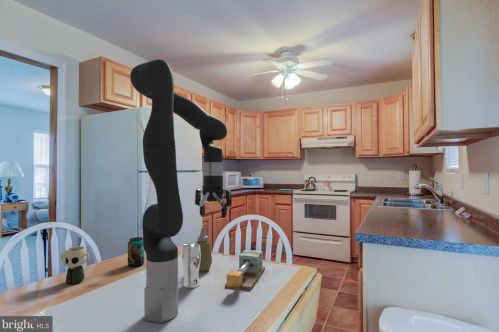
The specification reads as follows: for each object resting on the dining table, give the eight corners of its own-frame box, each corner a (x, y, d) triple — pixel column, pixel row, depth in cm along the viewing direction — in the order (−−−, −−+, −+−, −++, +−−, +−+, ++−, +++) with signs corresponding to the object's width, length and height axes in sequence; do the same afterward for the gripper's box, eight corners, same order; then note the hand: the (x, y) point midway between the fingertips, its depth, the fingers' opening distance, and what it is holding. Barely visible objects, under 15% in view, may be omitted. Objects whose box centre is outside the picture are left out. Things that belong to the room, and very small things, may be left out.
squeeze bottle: (210, 273, 120) (210, 230, 120) (191, 273, 120) (191, 230, 120) (213, 266, 128) (213, 226, 128) (195, 266, 128) (195, 226, 128)
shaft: (238, 287, 98) (238, 275, 98) (226, 285, 100) (226, 274, 100) (255, 266, 119) (255, 256, 119) (245, 265, 121) (245, 255, 121)
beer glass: (196, 289, 104) (196, 248, 104) (178, 288, 105) (178, 247, 105) (203, 282, 111) (203, 243, 111) (186, 280, 112) (186, 242, 112)
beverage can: (124, 266, 128) (124, 240, 128) (134, 261, 135) (134, 236, 135) (137, 268, 126) (137, 241, 126) (147, 263, 133) (147, 237, 133)
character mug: (55, 285, 107) (55, 251, 107) (66, 278, 115) (66, 246, 115) (84, 285, 108) (84, 251, 108) (94, 278, 115) (94, 245, 115)
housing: (250, 290, 103) (250, 268, 103) (224, 287, 106) (224, 265, 106) (265, 269, 124) (265, 251, 124) (243, 267, 127) (243, 249, 127)
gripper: (191, 174, 107) (191, 217, 107) (226, 174, 103) (226, 219, 102) (200, 174, 114) (200, 214, 114) (234, 174, 110) (234, 216, 110)
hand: (213, 217), depth 108 cm, fingers open, 8 cm apart
